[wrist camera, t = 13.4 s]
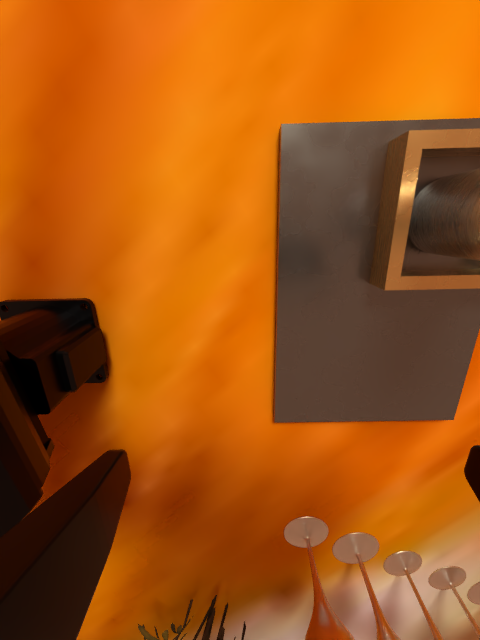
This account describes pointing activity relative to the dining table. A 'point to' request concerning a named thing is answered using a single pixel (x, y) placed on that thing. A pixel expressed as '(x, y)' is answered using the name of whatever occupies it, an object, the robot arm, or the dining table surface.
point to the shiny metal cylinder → (448, 216)
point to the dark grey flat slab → (369, 274)
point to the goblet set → (325, 627)
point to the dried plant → (207, 630)
